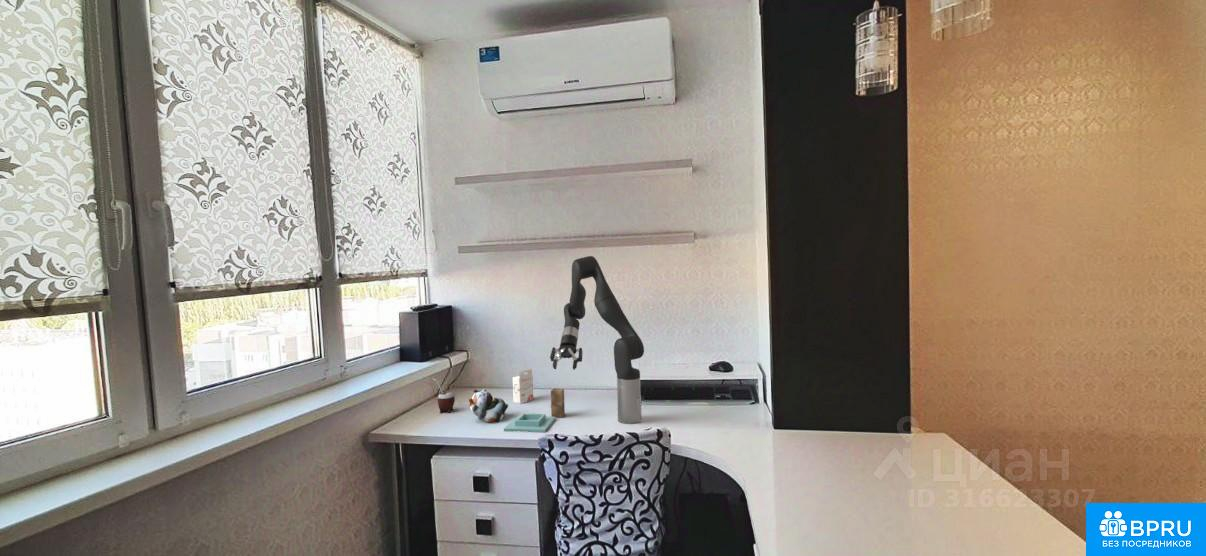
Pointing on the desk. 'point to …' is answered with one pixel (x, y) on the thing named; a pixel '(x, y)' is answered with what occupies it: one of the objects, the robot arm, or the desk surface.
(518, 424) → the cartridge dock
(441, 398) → the mate gourd
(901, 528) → the desk surface
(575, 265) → the robot arm
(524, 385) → the ink cartridge box
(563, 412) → the walnut block
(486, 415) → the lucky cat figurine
